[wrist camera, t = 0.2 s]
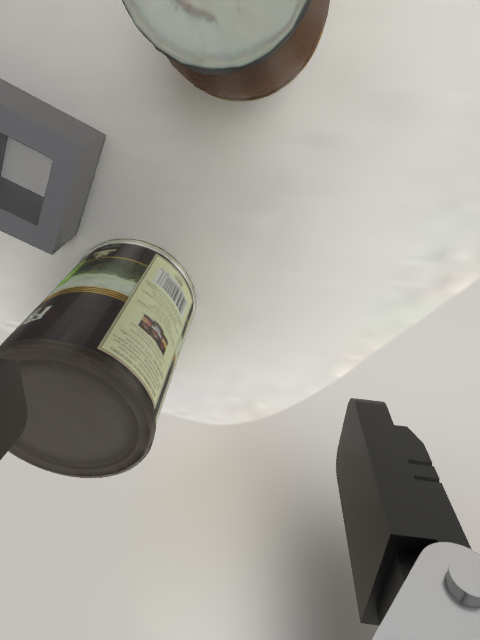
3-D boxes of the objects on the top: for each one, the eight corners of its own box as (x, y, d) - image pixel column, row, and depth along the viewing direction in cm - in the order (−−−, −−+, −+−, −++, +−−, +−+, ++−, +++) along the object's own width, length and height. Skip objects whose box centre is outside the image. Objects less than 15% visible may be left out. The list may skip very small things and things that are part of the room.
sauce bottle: (222, 100, 26) (118, 181, 10) (181, -19, 23) (-71, -200, 7) (321, 59, 25) (404, 72, 8) (292, -74, 22) (327, -495, 5)
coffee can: (58, 307, 36) (-51, 431, 24) (104, 212, 31) (-5, 310, 19) (161, 364, 39) (108, 501, 27) (220, 284, 34) (186, 410, 22)
